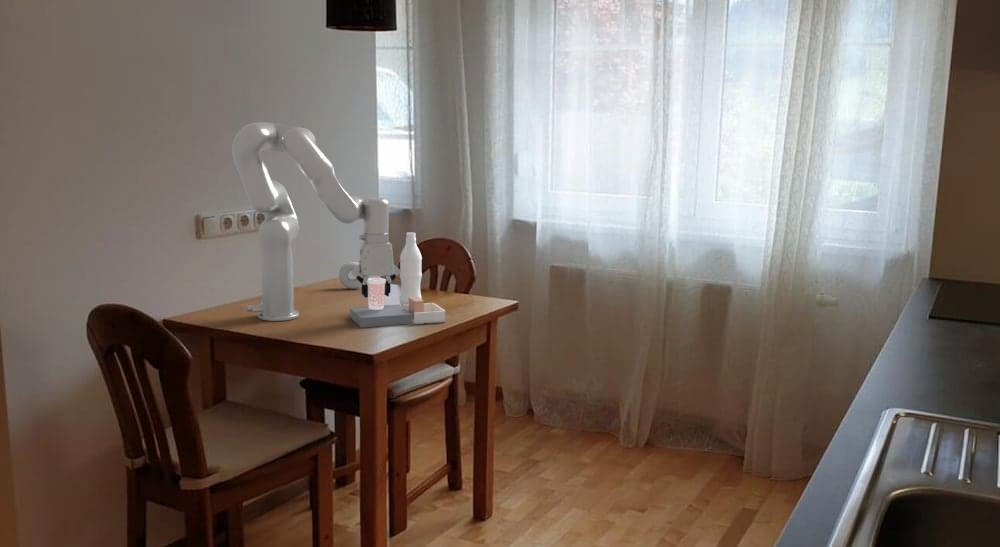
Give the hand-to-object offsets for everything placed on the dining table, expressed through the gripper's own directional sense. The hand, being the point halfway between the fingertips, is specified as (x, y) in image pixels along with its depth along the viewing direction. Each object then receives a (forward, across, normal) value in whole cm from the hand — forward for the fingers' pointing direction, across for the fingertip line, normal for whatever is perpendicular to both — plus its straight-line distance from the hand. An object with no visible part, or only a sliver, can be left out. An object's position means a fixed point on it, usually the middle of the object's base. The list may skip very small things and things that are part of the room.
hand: (376, 295), depth 276 cm
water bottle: (+8, +15, +13) cm, 21 cm away
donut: (+8, +4, +48) cm, 49 cm away
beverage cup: (+4, 0, 0) cm, 4 cm away
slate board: (+8, +1, -1) cm, 8 cm away
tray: (+8, +15, -3) cm, 17 cm away
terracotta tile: (+4, +11, -3) cm, 12 cm away
